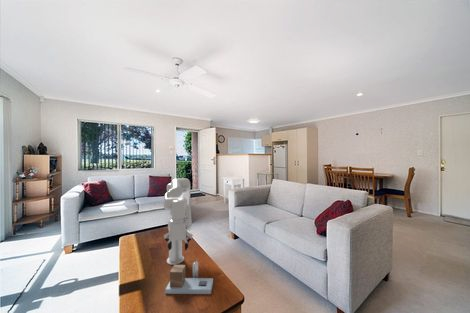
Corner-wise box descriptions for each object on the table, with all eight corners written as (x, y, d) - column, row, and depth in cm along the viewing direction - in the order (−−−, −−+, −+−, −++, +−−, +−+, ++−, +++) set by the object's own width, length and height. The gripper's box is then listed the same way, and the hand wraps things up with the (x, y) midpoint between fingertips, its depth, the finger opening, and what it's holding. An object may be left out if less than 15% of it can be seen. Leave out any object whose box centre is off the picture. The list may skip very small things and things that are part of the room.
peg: (193, 276, 120) (193, 260, 120) (198, 276, 120) (198, 261, 120) (192, 279, 116) (192, 263, 116) (197, 279, 116) (197, 263, 116)
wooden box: (174, 279, 112) (174, 264, 113) (185, 279, 112) (185, 264, 113) (169, 287, 105) (170, 271, 106) (181, 287, 105) (182, 271, 106)
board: (171, 281, 114) (171, 268, 114) (213, 282, 114) (213, 268, 114) (165, 293, 104) (165, 278, 104) (210, 293, 104) (210, 278, 104)
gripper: (194, 218, 113) (194, 246, 113) (166, 218, 114) (166, 246, 113) (191, 222, 106) (190, 252, 105) (161, 222, 106) (161, 252, 106)
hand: (178, 249), depth 109 cm, fingers open, 9 cm apart
